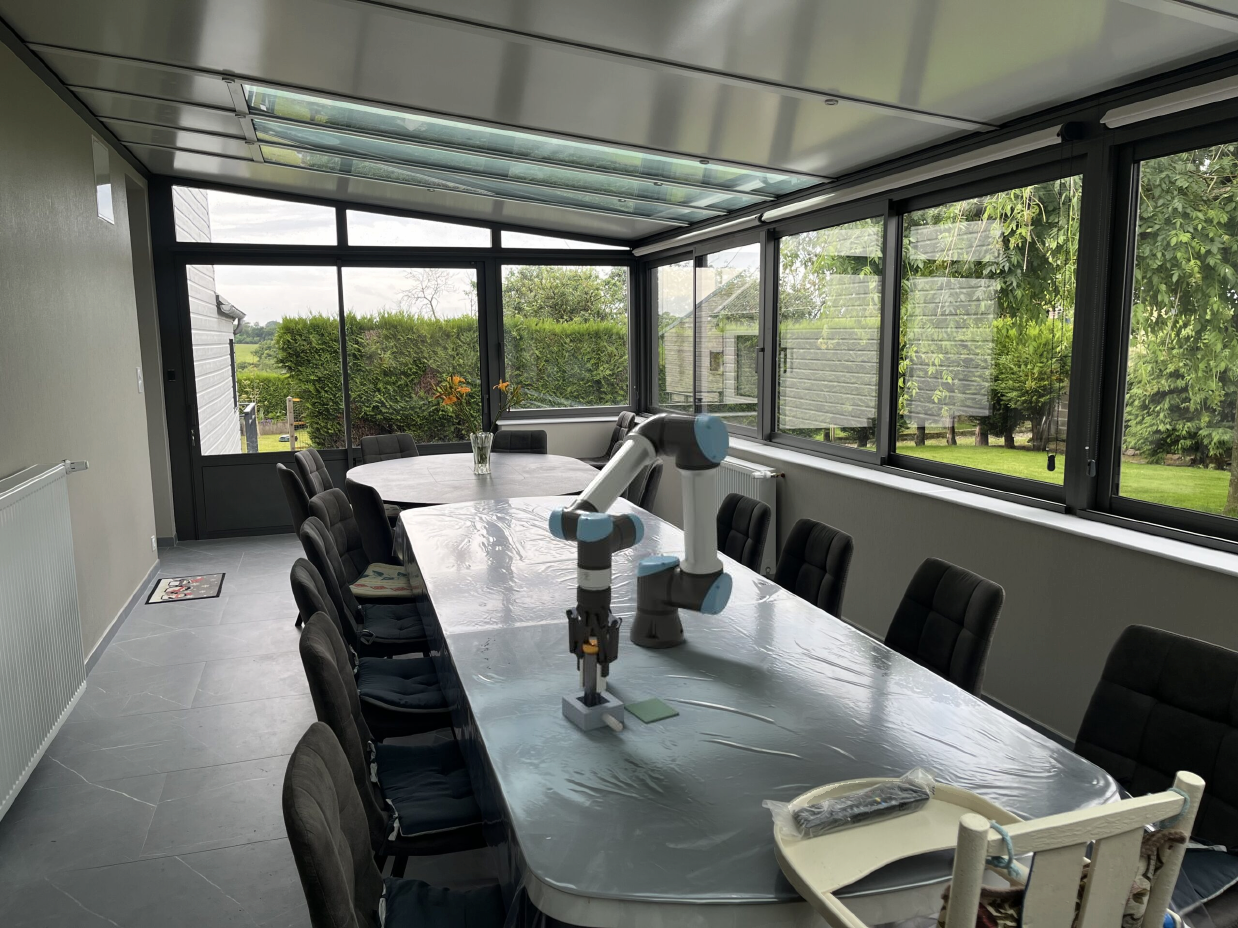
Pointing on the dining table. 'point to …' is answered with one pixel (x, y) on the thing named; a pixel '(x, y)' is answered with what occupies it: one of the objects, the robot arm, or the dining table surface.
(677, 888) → the dining table surface
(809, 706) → the dining table surface
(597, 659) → the orange capped tube
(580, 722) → the block
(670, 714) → the pad
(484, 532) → the dining table surface
